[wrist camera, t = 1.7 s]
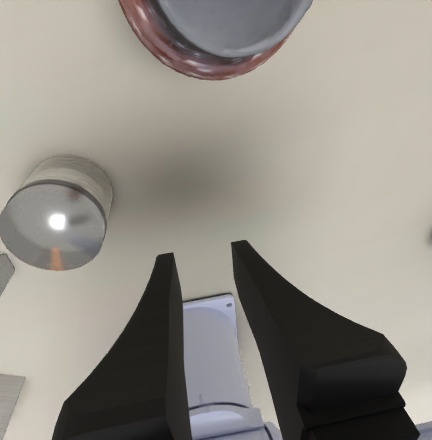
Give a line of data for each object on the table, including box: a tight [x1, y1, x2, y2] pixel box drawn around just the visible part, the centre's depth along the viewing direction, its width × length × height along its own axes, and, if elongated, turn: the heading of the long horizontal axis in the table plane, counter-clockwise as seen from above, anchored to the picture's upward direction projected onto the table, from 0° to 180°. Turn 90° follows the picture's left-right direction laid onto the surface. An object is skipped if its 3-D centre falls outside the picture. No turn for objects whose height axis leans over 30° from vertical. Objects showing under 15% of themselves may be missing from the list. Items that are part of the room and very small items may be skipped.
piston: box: [0, 155, 113, 271], centre depth 18 cm, size 5×5×5 cm
